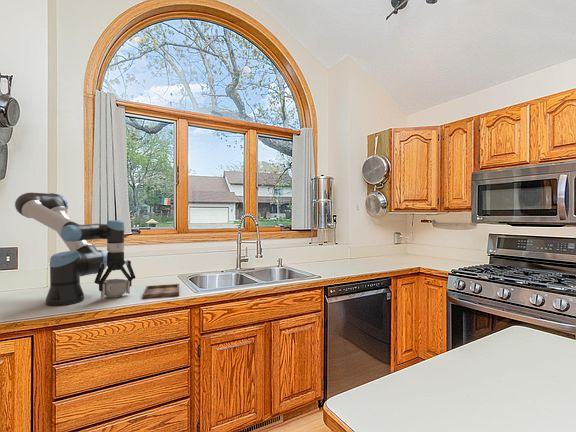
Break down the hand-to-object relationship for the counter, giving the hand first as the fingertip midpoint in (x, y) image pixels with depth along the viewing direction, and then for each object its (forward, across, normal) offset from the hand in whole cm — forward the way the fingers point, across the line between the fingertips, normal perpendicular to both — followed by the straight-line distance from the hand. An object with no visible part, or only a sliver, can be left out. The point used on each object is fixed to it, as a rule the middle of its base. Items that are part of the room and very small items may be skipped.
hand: (115, 295), depth 163 cm
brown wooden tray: (+1, +20, -8) cm, 22 cm away
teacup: (+1, -1, 0) cm, 1 cm away
